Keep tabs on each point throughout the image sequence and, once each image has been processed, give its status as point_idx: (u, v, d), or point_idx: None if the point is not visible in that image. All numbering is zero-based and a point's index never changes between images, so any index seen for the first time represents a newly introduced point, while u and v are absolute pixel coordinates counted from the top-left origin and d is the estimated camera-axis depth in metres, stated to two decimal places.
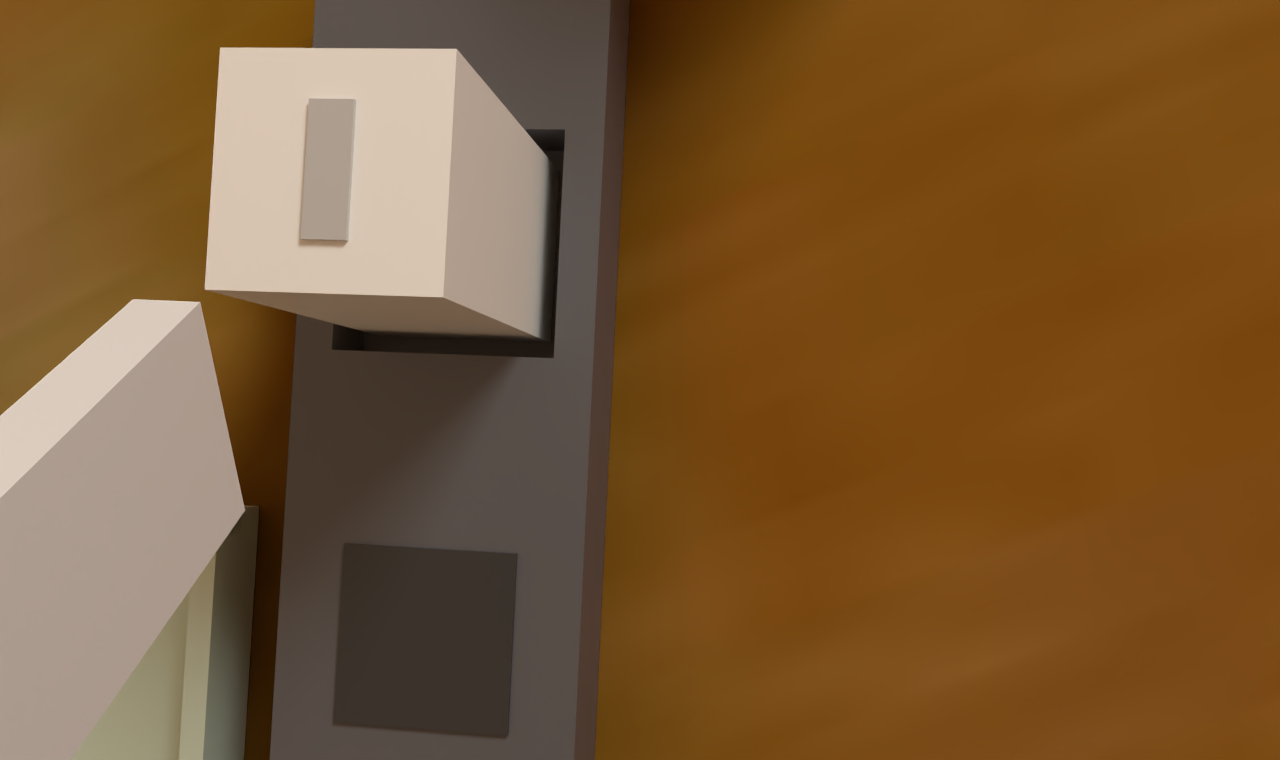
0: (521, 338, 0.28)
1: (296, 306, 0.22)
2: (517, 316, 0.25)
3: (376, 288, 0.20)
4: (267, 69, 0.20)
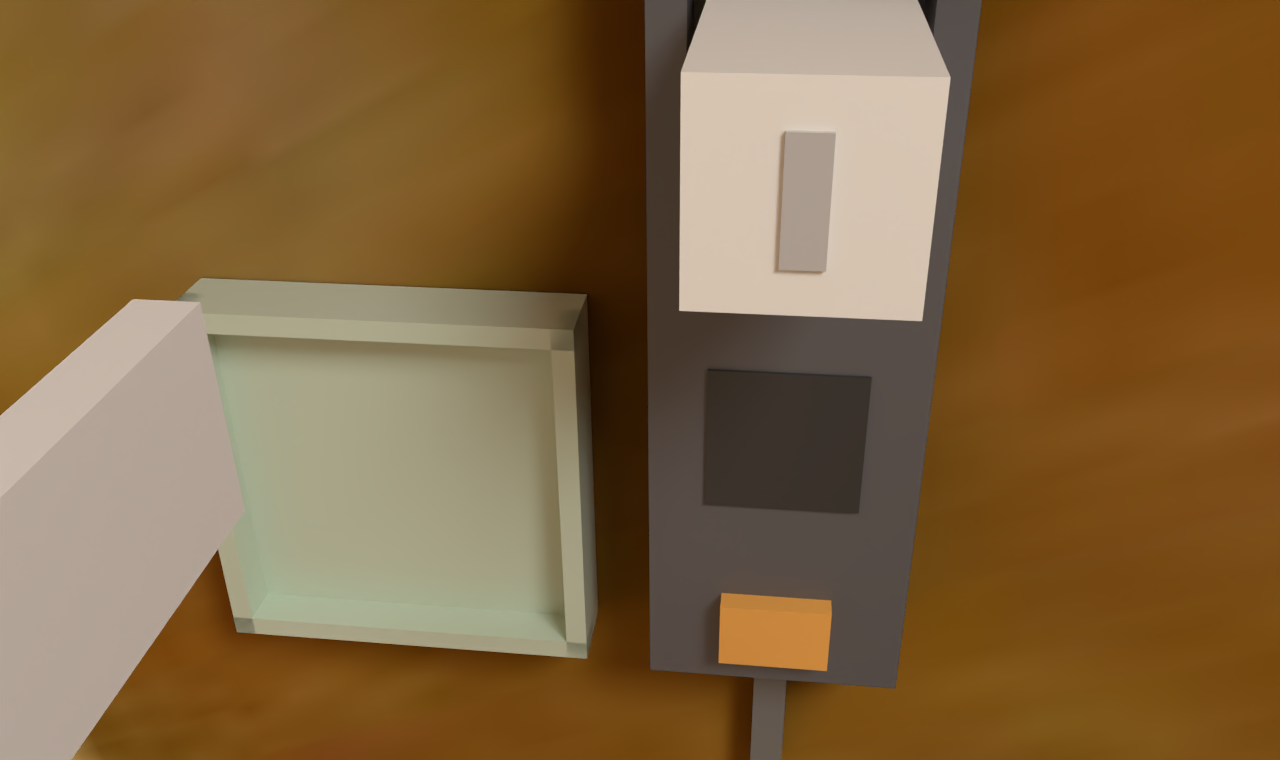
0: None
1: None
2: None
3: (855, 312, 0.20)
4: (735, 96, 0.19)
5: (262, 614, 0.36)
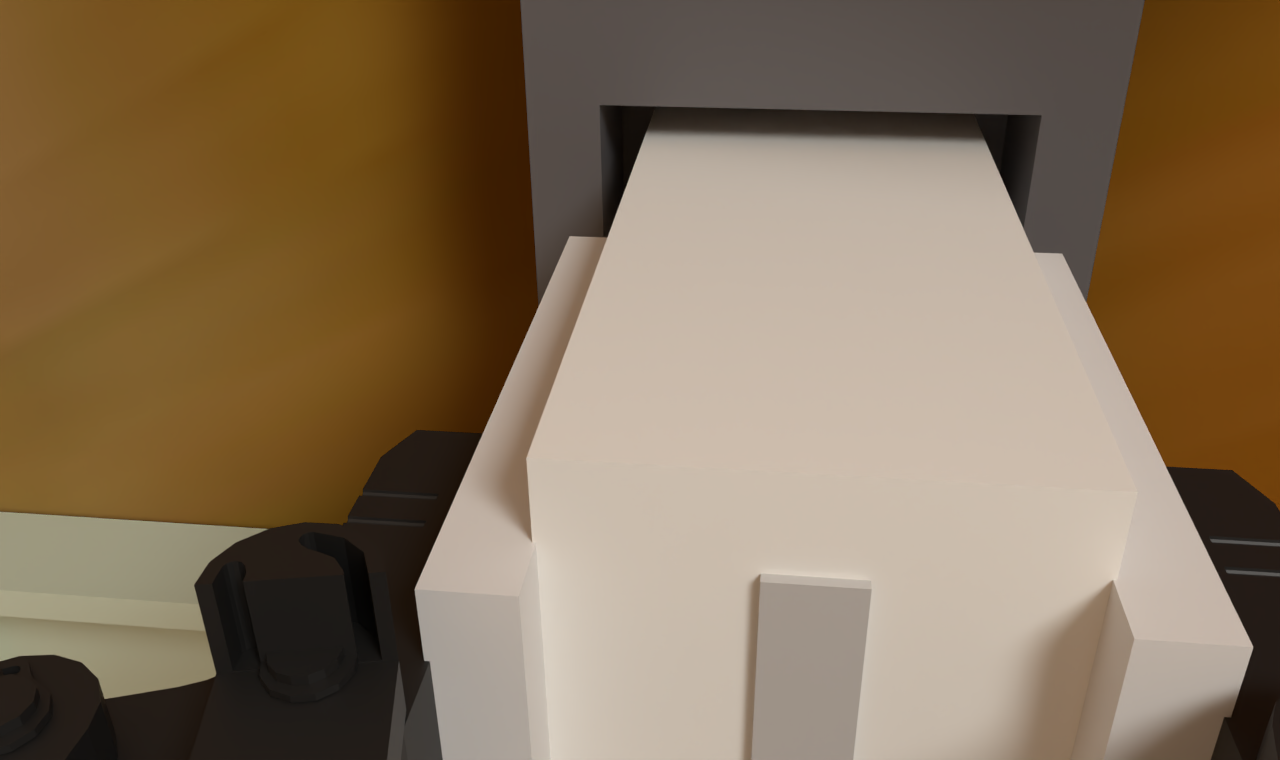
0: None
1: None
2: None
3: None
4: (648, 507, 0.08)
5: None
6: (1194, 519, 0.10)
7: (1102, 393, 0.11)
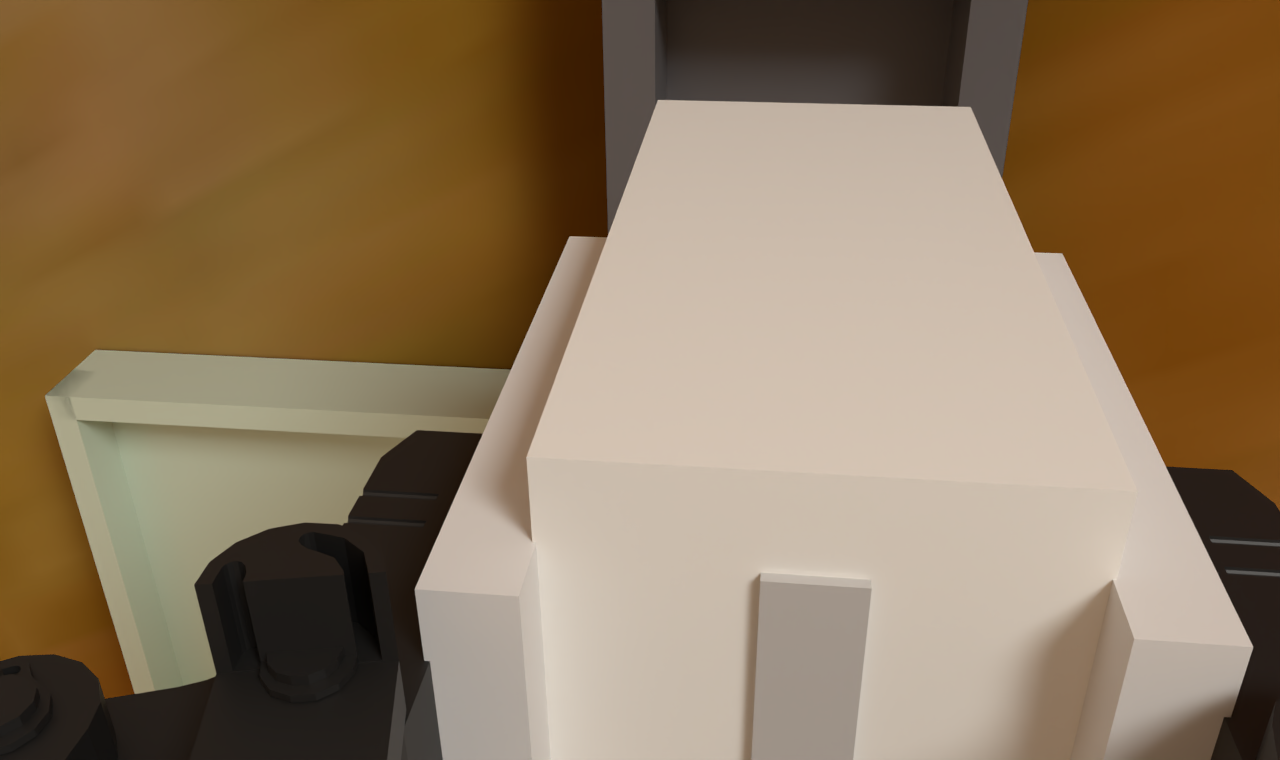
0: None
1: None
2: None
3: None
4: (649, 507, 0.08)
5: None
6: (1194, 519, 0.10)
7: (1102, 393, 0.11)
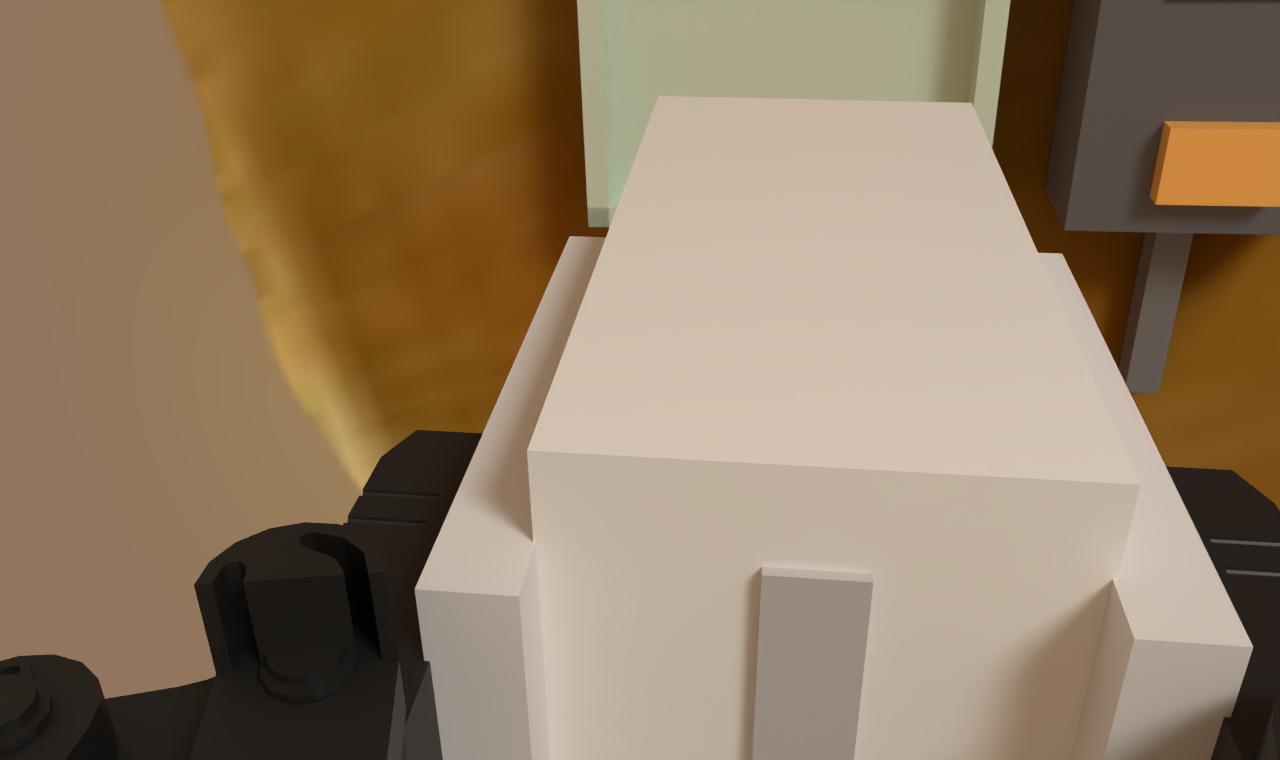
0: None
1: None
2: None
3: None
4: (650, 500, 0.08)
5: (617, 204, 0.34)
6: (1194, 519, 0.10)
7: (1102, 393, 0.11)
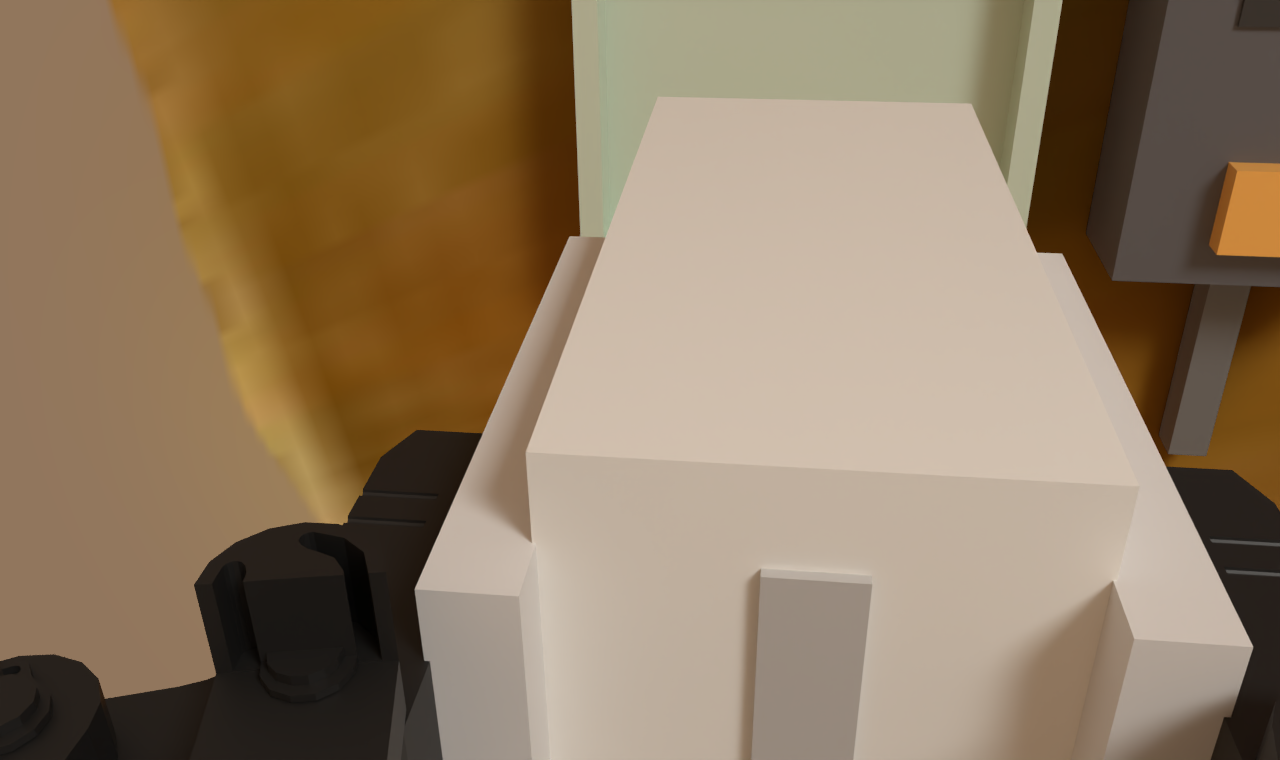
0: None
1: None
2: None
3: None
4: (649, 502, 0.08)
5: None
6: (1194, 520, 0.10)
7: (1102, 393, 0.11)
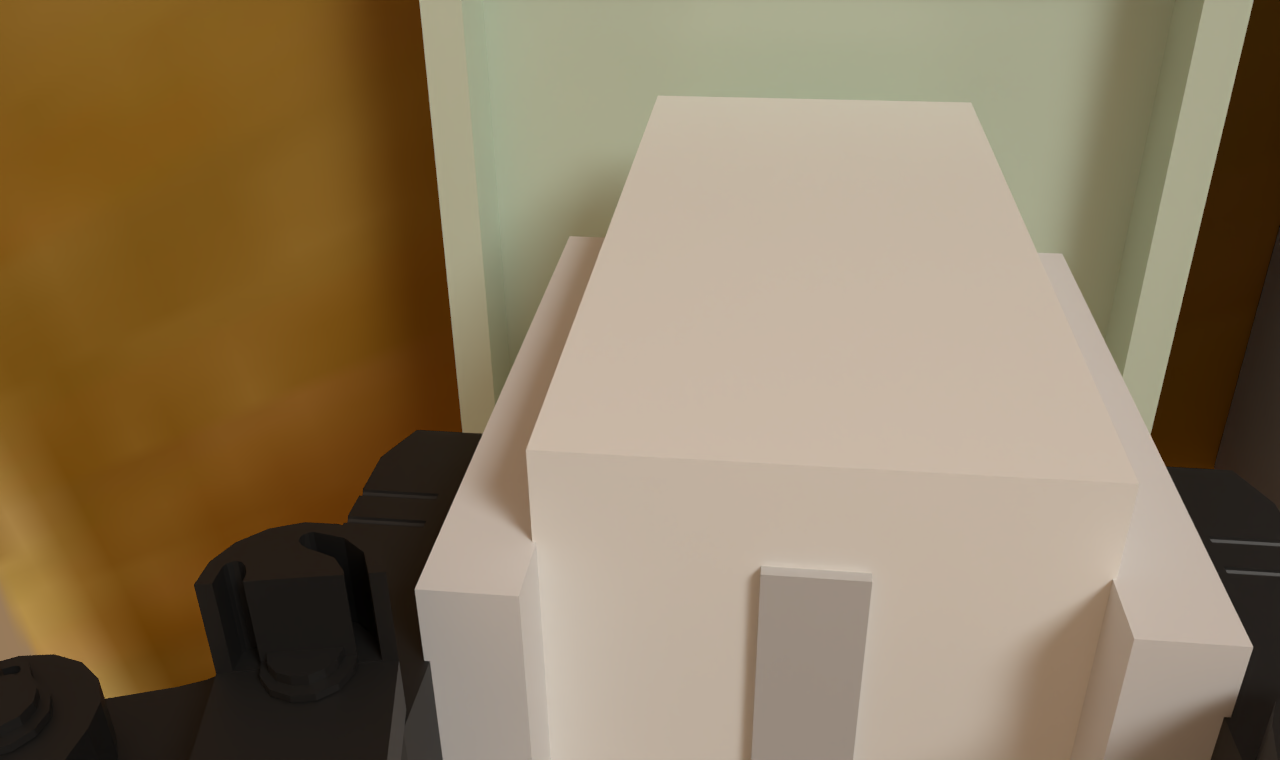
0: None
1: None
2: None
3: None
4: (648, 500, 0.08)
5: None
6: (1194, 519, 0.10)
7: (1102, 393, 0.11)
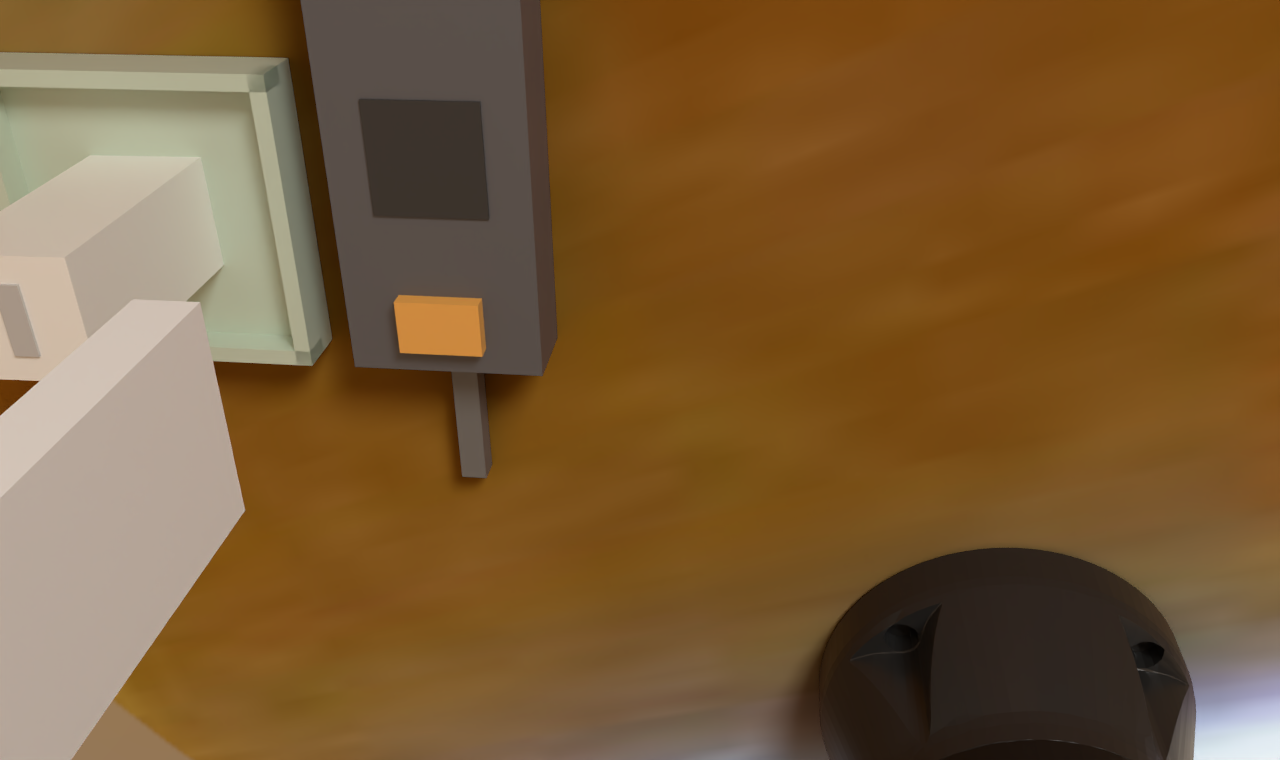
0: None
1: None
2: (178, 300, 0.41)
3: None
4: None
5: None
6: None
7: None
